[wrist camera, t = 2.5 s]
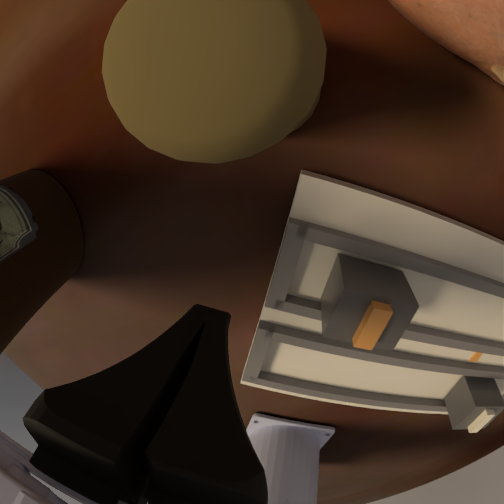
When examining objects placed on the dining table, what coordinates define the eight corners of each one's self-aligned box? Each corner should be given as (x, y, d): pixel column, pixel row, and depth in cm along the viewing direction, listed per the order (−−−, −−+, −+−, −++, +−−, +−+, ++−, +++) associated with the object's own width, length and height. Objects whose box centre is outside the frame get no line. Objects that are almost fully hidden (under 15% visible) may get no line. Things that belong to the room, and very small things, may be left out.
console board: (486, 406, 22) (491, 420, 21) (243, 372, 24) (238, 390, 22) (576, 278, 15) (588, 290, 13) (301, 169, 16) (301, 177, 14)
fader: (474, 399, 20) (485, 433, 17) (443, 398, 20) (454, 435, 17) (493, 377, 19) (508, 412, 15) (463, 374, 19) (477, 412, 15)
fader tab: (381, 312, 18) (394, 359, 14) (320, 297, 18) (322, 345, 14) (402, 270, 16) (422, 313, 13) (338, 252, 16) (345, 295, 13)
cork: (317, 28, 13) (335, -88, 3) (324, 138, 15) (360, 198, 5) (201, 37, 14) (63, -26, 4) (210, 142, 16) (81, 207, 6)
